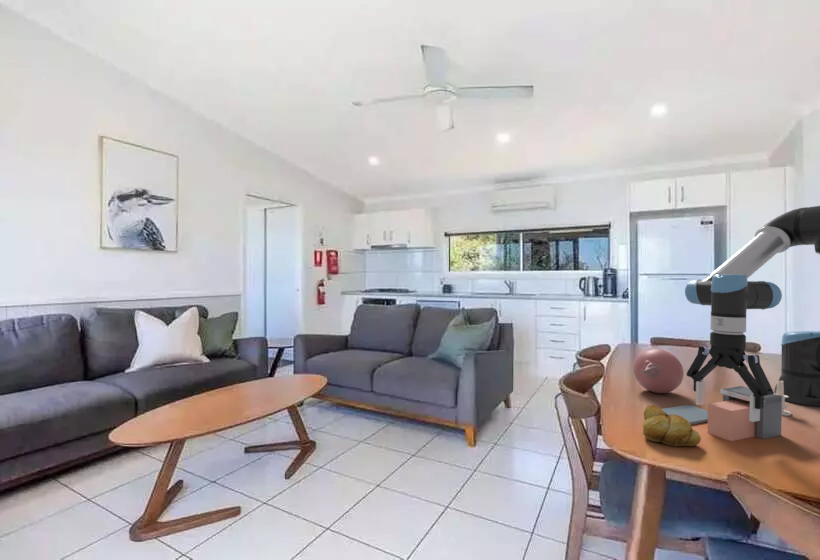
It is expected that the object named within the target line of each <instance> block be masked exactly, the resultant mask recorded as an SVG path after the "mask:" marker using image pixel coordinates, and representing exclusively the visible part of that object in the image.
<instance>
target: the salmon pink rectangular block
mask: <svg viewBox="0 0 820 560" xmlns="http://www.w3.org/2000/svg"><path fill="white" fill-rule="evenodd" d="M707 411H708V422H707V434H709V435H713V436H716V437H718V438H721V439H723V440H725V441H730V442H735V441H740V440H744V439H749V438H753V437H756V427H757V421H755V422H751V421H749V411H750V401H746V400H743V399H735V400H729V401H723V400H722V401H719V402H718V401H717V402H712V403H708V404H707Z"/></svg>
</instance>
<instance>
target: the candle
mask: <svg viewBox="0 0 820 560" xmlns="http://www.w3.org/2000/svg"><path fill="white" fill-rule="evenodd" d="M776 384H777V392H776V395H780V396H782V416H786V417H789V416H792V412H791V411H789V410H786V408H788V406H787V404H785V403H786V401H785V398H788V397H789V396H787V395H784V383H783V381H781V379H780V381H778V380H777V382H776Z"/></svg>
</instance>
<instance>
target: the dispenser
mask: <svg viewBox="0 0 820 560" xmlns="http://www.w3.org/2000/svg"><path fill="white" fill-rule="evenodd" d="M719 391H720V395H722V402H723V401H729V400H735V399H743V400H746V401H750V395H753V393H752V391H751V390H750V389H749V387H748V386H747V387H746V386H743V385H739V386H733V387H726V388H720V390H719ZM782 417H783V415H782V396H780V395H776V394H773V395H767V396H764V407H763V409H760V421H757V427H756V436H755V437H756V438H758V439H761V440H764V439H771V438H773V437H778V436H781V435H782Z"/></svg>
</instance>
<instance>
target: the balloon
mask: <svg viewBox="0 0 820 560" xmlns="http://www.w3.org/2000/svg"><path fill="white" fill-rule="evenodd" d="M633 374H634V377H635V379H636V381H637V382H638V383H639V385H640V386H642V387H643V389H645V390H647V391H650V392H652V393H656V394H667V393H670V392H673V391H674V390H676V389H678V388H679V386H680V385H681V384H682V382H683V380H684V376H685V375H684V366H683V365H682V362H680V360H679V358H677V357H676V355H674V354H672V353H671V352H669V351H667V350H664V349H660V348H659V349H658V348H657V349H656V348H655V349H648V350H646V351H643V352H642V353H640V354H639V355H638V356H637V357H636V359H635V360H634V363H633Z"/></svg>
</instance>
